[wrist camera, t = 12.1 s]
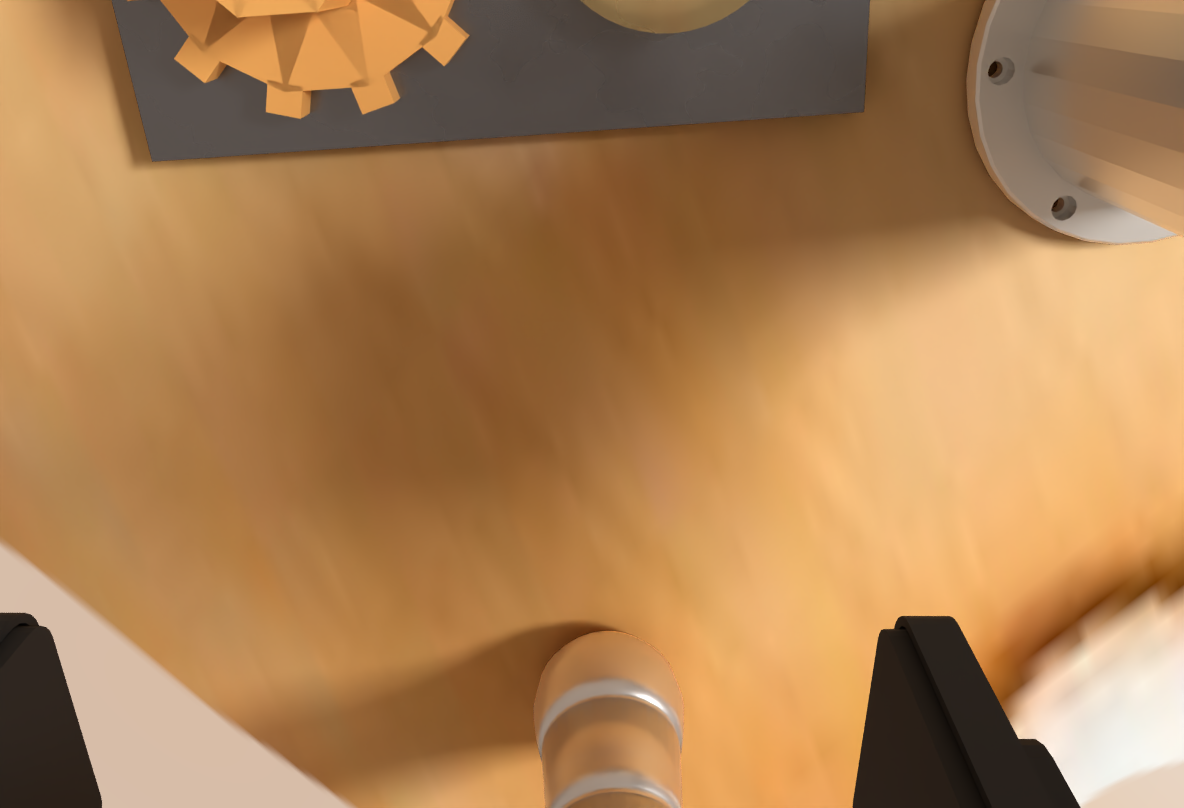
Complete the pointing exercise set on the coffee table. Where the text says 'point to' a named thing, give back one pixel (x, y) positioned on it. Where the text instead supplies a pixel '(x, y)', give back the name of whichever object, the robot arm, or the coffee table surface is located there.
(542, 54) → the carrier plate
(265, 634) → the coffee table surface
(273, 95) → the planet gear
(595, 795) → the plastic bottle
